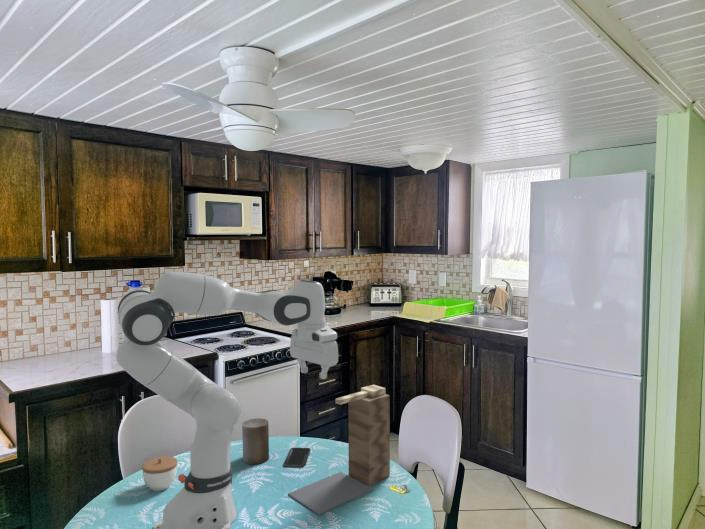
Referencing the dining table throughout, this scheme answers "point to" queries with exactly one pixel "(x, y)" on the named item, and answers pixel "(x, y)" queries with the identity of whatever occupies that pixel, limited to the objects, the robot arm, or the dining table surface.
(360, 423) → the walnut stand
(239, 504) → the dining table surface
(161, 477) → the lidded jar
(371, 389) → the beech spatula
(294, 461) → the phone
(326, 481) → the rubber mat
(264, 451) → the pillar candle
